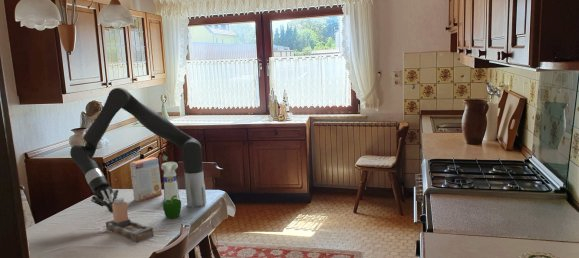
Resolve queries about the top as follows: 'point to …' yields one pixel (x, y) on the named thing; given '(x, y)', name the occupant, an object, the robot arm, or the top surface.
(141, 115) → the robot arm
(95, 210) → the top surface
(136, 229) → the fader track
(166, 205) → the bell pepper
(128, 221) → the slider tab
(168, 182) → the white bottle
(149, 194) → the cracker box
